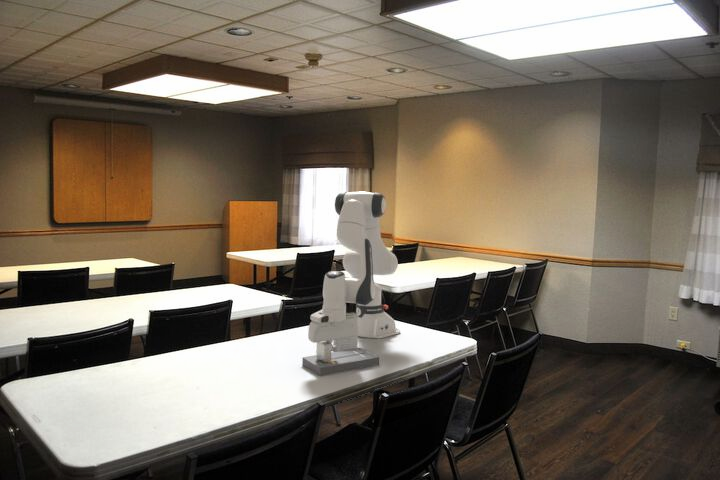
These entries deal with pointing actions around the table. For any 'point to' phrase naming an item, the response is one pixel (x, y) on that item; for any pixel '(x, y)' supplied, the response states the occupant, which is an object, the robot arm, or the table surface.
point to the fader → (324, 351)
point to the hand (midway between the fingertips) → (333, 350)
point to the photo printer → (347, 343)
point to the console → (341, 361)
